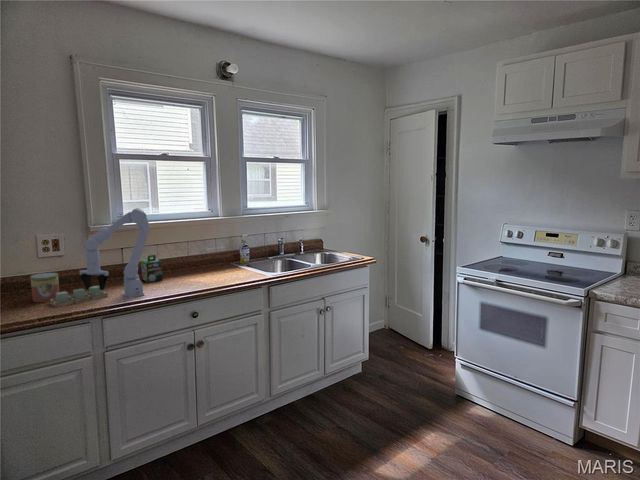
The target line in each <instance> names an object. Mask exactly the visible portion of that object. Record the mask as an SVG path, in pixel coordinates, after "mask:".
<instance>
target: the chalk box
mask: <svg viewBox="0 0 640 480" xmlns="http://www.w3.org/2000/svg"><path fill="white" fill-rule="evenodd" d="M156 257H157V256H156V254H152V255H151V254H150V255H147V259H144V260H143V259H142V260H140V263H141V264H140V266H141V268H140V269H141V279H142V280H143V281H145V282H146V283H149V282H150V283H152V282H157V281H162V280H164V279H163V278H164V277H163V261H162V260H160V259H158V258H156Z"/></svg>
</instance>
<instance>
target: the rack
mask: <svg viewBox="0 0 640 480" xmlns="http://www.w3.org/2000/svg"><path fill="white" fill-rule="evenodd" d="M68 296H69V300H66V301H61V302H56V298H55V299H50V301H49V304H51V306H53V307H54V308H58V307H64V306H68V305H72V304H73V305H74V304H78V303H83V302H89V301H92V300H98V299H103V298H108V297H109V296H108V292H106V291H104V290H102V294H97V295H92V296H91V295H89V291H87V292H85V296H86V297H82V298H77V299H74V298H73V294H72V295H68Z"/></svg>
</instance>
